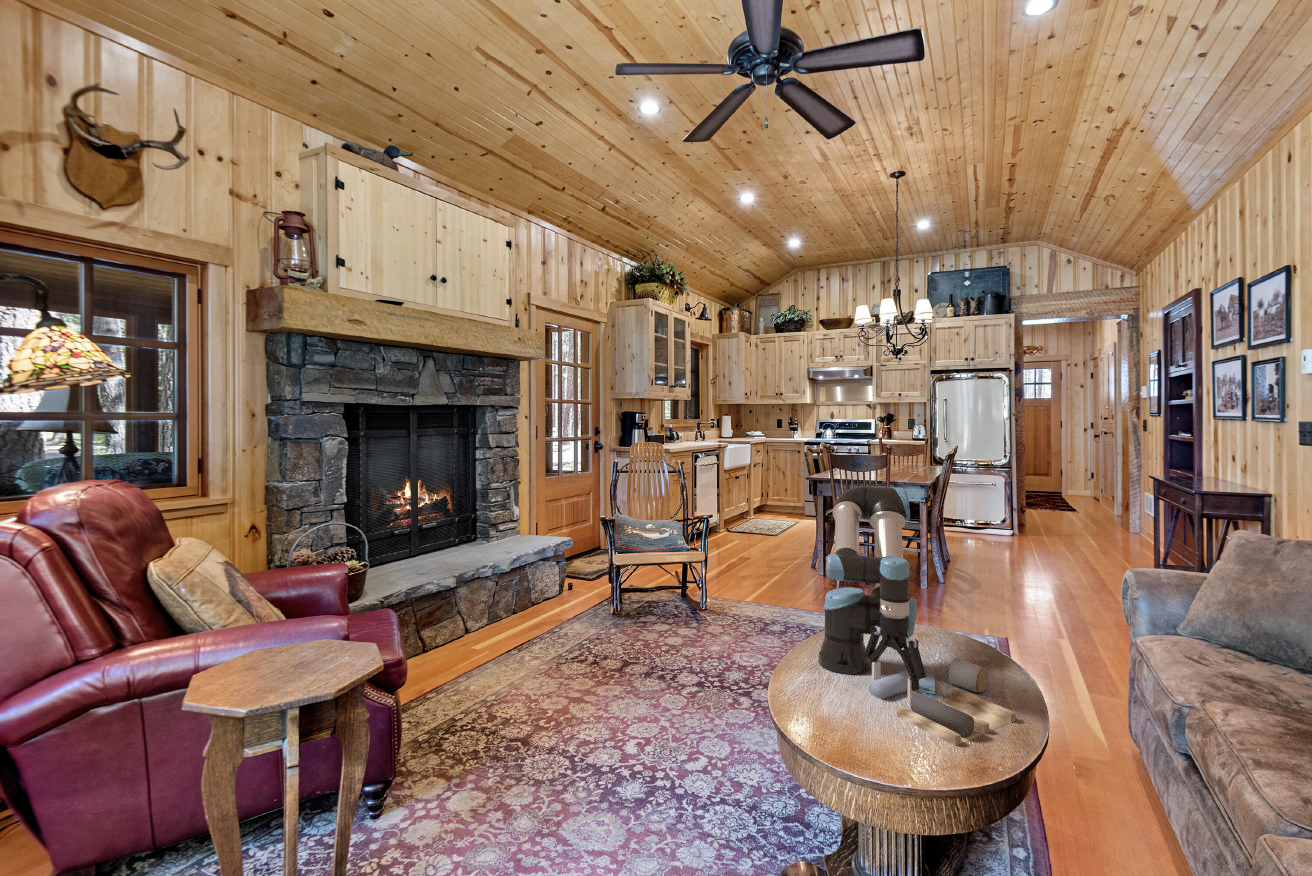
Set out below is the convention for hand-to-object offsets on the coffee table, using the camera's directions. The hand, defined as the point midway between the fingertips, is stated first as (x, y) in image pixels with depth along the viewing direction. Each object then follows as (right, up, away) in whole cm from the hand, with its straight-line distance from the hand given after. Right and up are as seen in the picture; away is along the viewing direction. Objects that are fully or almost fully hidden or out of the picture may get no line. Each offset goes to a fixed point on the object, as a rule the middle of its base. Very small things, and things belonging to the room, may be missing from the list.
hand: (893, 692), depth 165 cm
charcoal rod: (+3, +1, -19) cm, 19 cm away
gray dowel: (0, 0, 0) cm, 1 cm away
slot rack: (+10, -1, -15) cm, 18 cm away
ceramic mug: (+23, 0, +4) cm, 24 cm away
